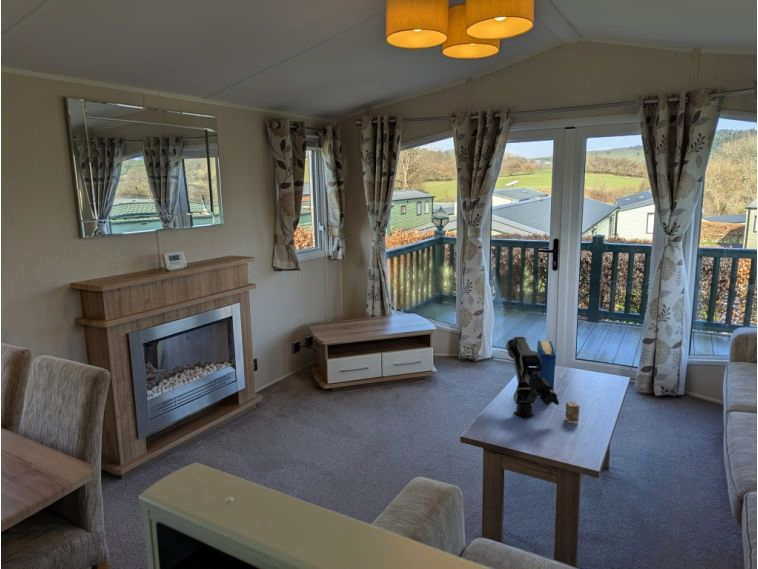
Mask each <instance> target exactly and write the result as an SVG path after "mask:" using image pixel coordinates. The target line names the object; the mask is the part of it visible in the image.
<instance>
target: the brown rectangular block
mask: <svg viewBox="0 0 758 569" xmlns="http://www.w3.org/2000/svg"><path fill="white" fill-rule="evenodd" d="M565 403H566V405H565V418H564V419H565V421H566V420H567V421H566V422H567V423H568V424H569V423H575V424H574V425H578V424H579V421H580V420H579V418H580V417H579V416H580V406H579V404H578V403H577V402H576V401H565ZM576 423H577V424H576Z"/></svg>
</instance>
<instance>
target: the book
mask: <svg viewBox="0 0 758 569" xmlns="http://www.w3.org/2000/svg"><path fill="white" fill-rule="evenodd" d="M536 346H537V347H536V348H537V349H536V354H537V355H538V356H539V358H540V361H541V366H542V368H541V371H538V375H539V376H540V377H541V378H545V379H546V380H547V381H548V385H549V387H550V386H551V387H552V389H553V390H554V389H555V370H556V356H557V355H556V350H555V349H556V348H555V346H554V343H553V342H552V341H551V340H549V341H548V340H537V345H536ZM537 367H538V366H537ZM554 391H555V390H554ZM538 397H539V396H538ZM539 400H540V401H542V397H541V396H540V397H539Z"/></svg>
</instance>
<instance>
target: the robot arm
mask: <svg viewBox="0 0 758 569" xmlns="http://www.w3.org/2000/svg"><path fill="white" fill-rule="evenodd" d="M526 340H527V339H526V337H524V336H515V337H514V336H513V338H512V339H509V340H507V342H506V343H505V350H506V351H507V354H508V356H509V357H510V358H511V359H512V360H513V361H512V362H513V366H514V370H515V376H516V381H517V386H516V390H515V392H514V394H513V401H514V402H515V404H516V411H514V412H513V414H514V415H515V416H518V417H520V418H521V419H527V418H530V417H534V416H535V414H533V412H532V411H533V407H532V405H533V404H535V403H536V401H537V398H538V397H540V396H541V397H542V400H541V401H542V403H544V405H545V406H549V404H551V403H553V404H554V405H556V406H559V405H560V402H559V399H558V398H557V397H558V395H557V393H556V392H555V390H553V389H552V387H551V386H550V387H549V385H548V381H547V380H546V379H545V378H541V377H540V376H539V375H538V371H541V368H542V366H541V361H540V358H539V356H538V355H537V351H534V350H531V348H530V346H529V345H528V343H527V341H526ZM537 366H538V367H537Z"/></svg>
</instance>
